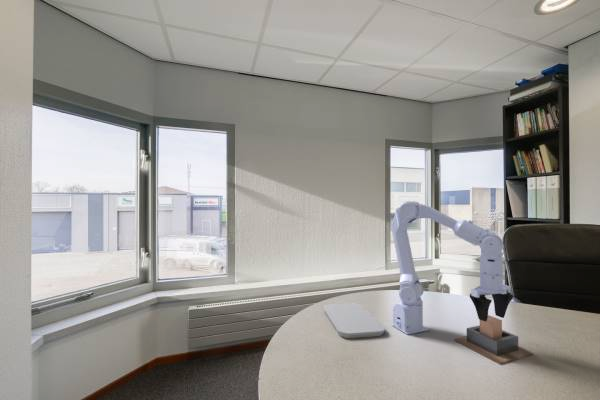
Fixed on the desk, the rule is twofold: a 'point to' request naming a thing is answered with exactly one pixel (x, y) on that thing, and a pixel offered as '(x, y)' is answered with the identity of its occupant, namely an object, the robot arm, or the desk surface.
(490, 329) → the peg
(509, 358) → the socket board
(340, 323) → the tablet
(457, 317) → the desk surface
